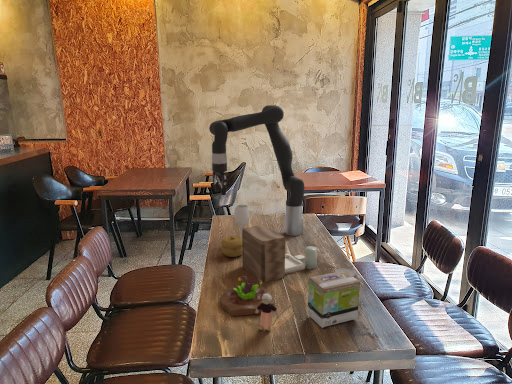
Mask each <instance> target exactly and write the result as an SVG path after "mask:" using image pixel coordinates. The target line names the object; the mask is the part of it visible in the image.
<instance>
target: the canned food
mask: <svg viewBox="0 0 512 384" xmlns="http://www.w3.org/2000/svg"><path fill="white" fill-rule="evenodd" d="M339 271H345V272H347V273H348V274H350V275H351V276H353V277H354V278H356V271H355V270H354V269H351V268H349V267H348V268H345V267H342V268H341V267H340V268H337V269H335V272H339ZM356 279H357V278H356Z"/></svg>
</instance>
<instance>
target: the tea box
mask: <svg viewBox="0 0 512 384" xmlns="http://www.w3.org/2000/svg"><path fill="white" fill-rule="evenodd" d="M360 290H361V281H360V280H359V279H357V278H354V277H353V276H351V275H350V274H348V273H347V272H345V271H339V272H330V273H325V274H319V275H315V276H310V277H309V279H308V295H307V312H306V313H307V315H308V316H309V317H310V318H311V319H312V320H313V321H314V322H315V323H316V324H317V325H318V326H319V327H321V329H323V328H325V327H329V326H333V325H337V324H340V323H345V322H349V321H352V320H356V319H358V317H359V316H358V313H359V306H360V305H359V304H360V292H361V291H360Z"/></svg>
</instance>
